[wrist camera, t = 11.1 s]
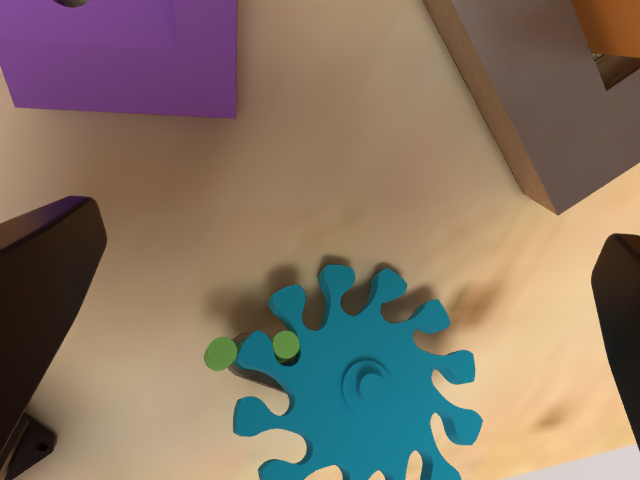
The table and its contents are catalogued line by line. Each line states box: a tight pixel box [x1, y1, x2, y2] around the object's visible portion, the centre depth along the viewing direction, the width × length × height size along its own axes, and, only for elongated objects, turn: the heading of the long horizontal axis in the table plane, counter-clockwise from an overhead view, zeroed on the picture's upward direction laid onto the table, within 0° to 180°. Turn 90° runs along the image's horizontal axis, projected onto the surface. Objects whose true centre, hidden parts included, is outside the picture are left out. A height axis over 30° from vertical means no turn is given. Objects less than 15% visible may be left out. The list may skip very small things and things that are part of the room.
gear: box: [204, 264, 483, 480], centre depth 21 cm, size 11×6×10 cm
